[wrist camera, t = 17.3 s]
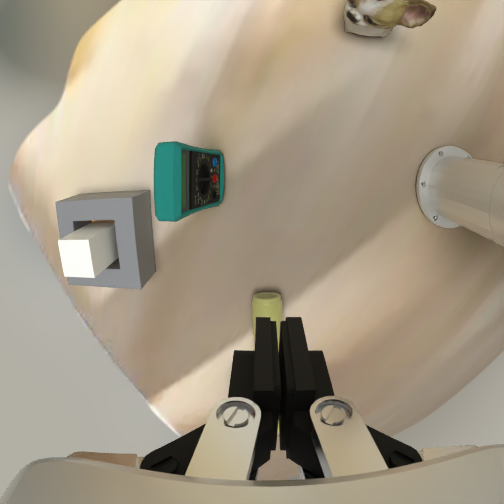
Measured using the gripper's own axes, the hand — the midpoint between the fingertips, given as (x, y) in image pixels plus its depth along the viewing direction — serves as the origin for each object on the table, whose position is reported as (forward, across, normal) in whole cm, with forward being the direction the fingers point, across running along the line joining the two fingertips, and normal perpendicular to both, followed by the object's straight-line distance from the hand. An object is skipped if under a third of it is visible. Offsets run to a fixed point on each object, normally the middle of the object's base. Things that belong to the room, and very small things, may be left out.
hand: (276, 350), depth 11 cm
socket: (+32, +22, +4) cm, 39 cm away
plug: (+30, +22, +4) cm, 38 cm away
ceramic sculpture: (+32, -13, -27) cm, 44 cm away
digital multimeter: (+32, +8, -4) cm, 34 cm away
